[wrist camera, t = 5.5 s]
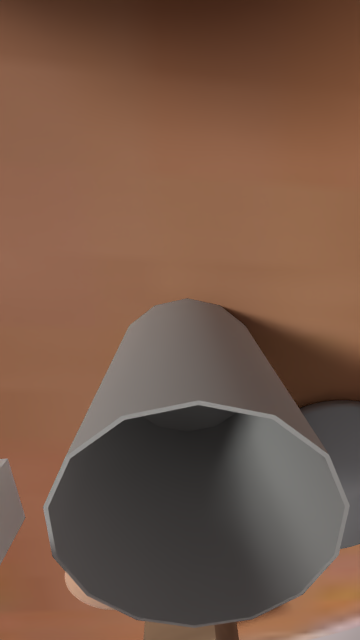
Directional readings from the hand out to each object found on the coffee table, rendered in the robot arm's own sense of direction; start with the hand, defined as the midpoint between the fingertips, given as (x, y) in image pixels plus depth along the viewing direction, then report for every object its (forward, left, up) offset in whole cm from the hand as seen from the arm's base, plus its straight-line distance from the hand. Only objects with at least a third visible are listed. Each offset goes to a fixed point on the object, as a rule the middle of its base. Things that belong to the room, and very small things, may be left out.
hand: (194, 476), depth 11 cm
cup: (0, 0, -8) cm, 8 cm away
